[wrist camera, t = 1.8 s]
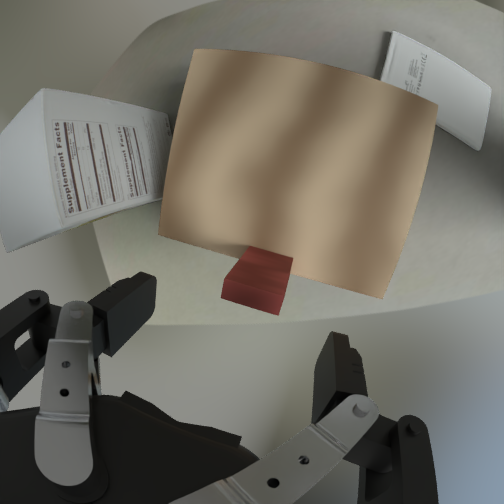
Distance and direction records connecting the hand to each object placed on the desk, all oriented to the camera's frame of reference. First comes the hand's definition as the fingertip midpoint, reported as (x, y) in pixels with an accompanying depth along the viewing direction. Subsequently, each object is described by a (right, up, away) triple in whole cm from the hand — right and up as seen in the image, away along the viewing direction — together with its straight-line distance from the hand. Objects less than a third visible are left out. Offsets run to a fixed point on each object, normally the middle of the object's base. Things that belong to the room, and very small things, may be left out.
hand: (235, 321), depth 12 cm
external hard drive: (+19, +20, +8) cm, 29 cm away
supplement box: (-11, +13, +17) cm, 24 cm away
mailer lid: (+4, +9, +7) cm, 12 cm away
